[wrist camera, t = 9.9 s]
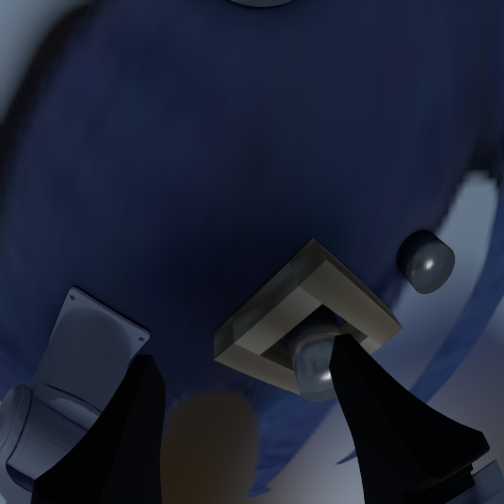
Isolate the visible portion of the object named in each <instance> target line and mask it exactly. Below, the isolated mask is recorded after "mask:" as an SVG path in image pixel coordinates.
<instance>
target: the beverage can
mask: <svg viewBox="0 0 504 504" xmlns="http://www.w3.org/2000/svg"><path fill="white" fill-rule="evenodd" d="M230 1H233V2H236V3H239V4H242V5H247V6H255V7H270V6H277V5H281V4H285V3H288V2H290V1H292V0H230Z"/></svg>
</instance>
